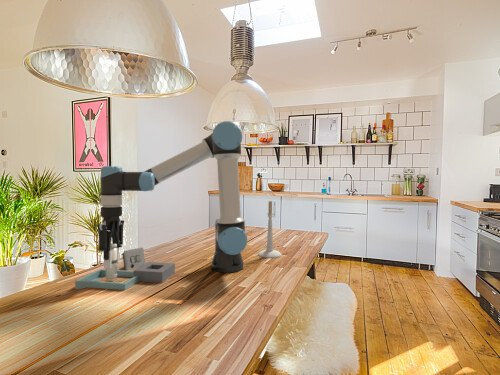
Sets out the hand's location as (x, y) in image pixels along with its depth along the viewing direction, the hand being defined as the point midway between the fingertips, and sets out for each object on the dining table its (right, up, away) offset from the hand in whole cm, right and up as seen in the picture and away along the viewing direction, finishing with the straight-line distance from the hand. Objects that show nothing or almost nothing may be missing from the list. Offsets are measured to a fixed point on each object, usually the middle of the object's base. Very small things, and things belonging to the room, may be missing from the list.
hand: (111, 265), depth 111 cm
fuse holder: (+15, -7, +6) cm, 18 cm away
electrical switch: (+1, -7, +19) cm, 20 cm away
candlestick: (+65, -7, +46) cm, 80 cm away
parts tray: (0, -7, 0) cm, 7 cm away
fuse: (0, -5, 0) cm, 5 cm away
